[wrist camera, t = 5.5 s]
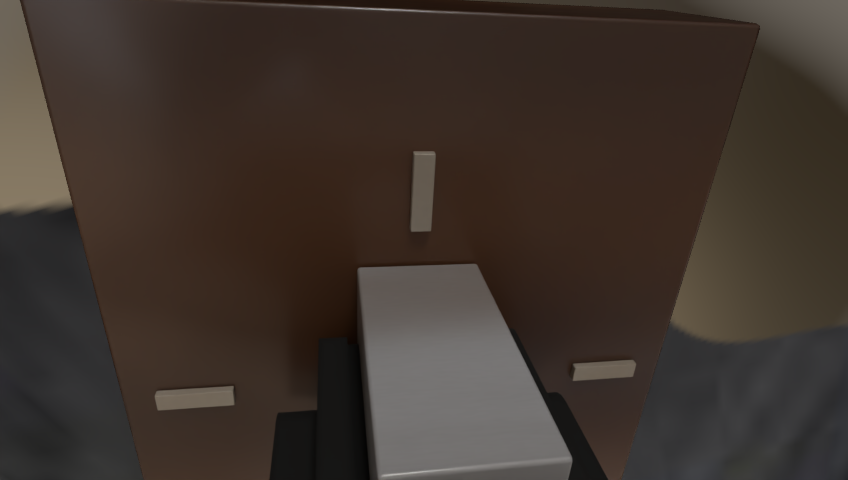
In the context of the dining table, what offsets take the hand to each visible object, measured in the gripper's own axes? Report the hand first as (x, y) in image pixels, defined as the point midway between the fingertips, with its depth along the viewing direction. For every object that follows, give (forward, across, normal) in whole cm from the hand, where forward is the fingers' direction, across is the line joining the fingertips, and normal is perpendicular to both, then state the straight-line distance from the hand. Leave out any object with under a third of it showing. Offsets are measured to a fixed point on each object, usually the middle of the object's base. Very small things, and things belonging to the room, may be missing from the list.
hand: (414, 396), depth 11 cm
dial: (0, 0, 0) cm, 0 cm away
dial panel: (+3, 0, 0) cm, 3 cm away
